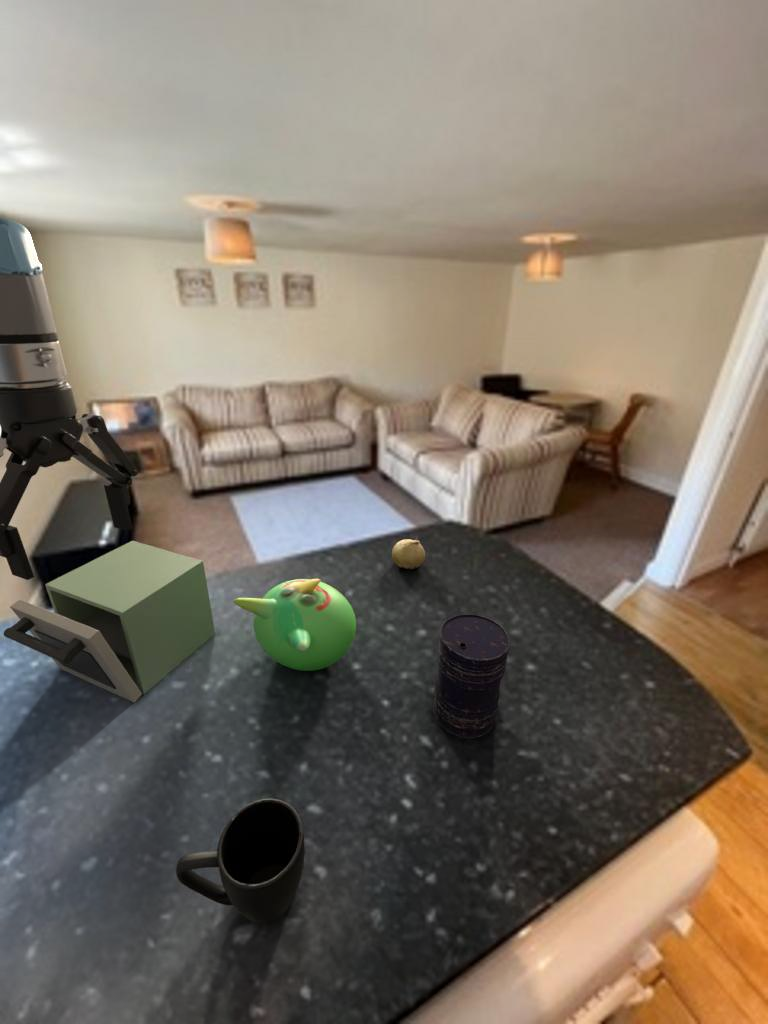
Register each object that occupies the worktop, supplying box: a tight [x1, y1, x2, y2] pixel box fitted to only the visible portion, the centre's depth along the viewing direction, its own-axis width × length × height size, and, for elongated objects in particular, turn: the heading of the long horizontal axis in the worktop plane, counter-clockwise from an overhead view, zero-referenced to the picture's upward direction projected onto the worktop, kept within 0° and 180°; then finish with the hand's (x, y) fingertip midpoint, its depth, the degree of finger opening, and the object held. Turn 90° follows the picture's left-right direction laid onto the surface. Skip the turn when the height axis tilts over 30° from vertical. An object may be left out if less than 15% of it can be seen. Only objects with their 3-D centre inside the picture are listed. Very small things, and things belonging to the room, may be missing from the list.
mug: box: [175, 798, 306, 926], centre depth 45 cm, size 8×12×10 cm
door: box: [3, 598, 143, 703], centre depth 67 cm, size 5×17×16 cm, turn 67°
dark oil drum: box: [432, 613, 510, 739], centre depth 67 cm, size 10×10×15 cm
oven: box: [44, 540, 216, 695], centre depth 77 cm, size 16×17×16 cm
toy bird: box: [233, 578, 357, 672], centre depth 77 cm, size 18×17×15 cm
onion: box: [391, 536, 426, 570], centre depth 107 cm, size 8×8×7 cm
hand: (78, 549), depth 58 cm, fingers open, 13 cm apart
